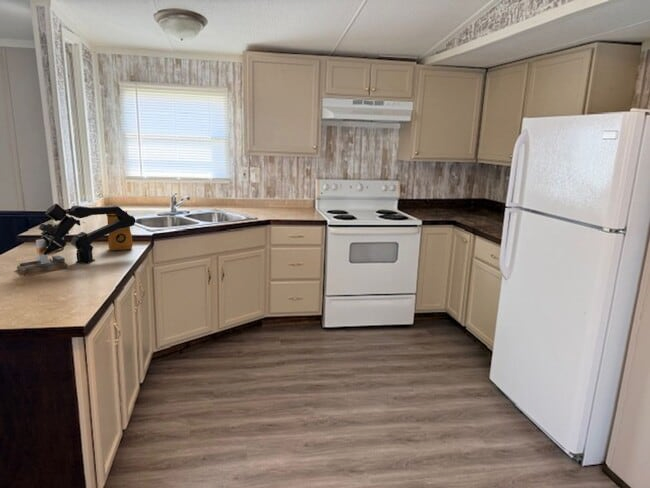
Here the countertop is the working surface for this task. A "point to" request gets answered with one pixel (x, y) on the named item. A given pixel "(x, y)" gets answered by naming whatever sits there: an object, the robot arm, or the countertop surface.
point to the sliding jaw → (41, 252)
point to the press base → (42, 266)
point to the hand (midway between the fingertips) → (41, 252)
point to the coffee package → (119, 236)
